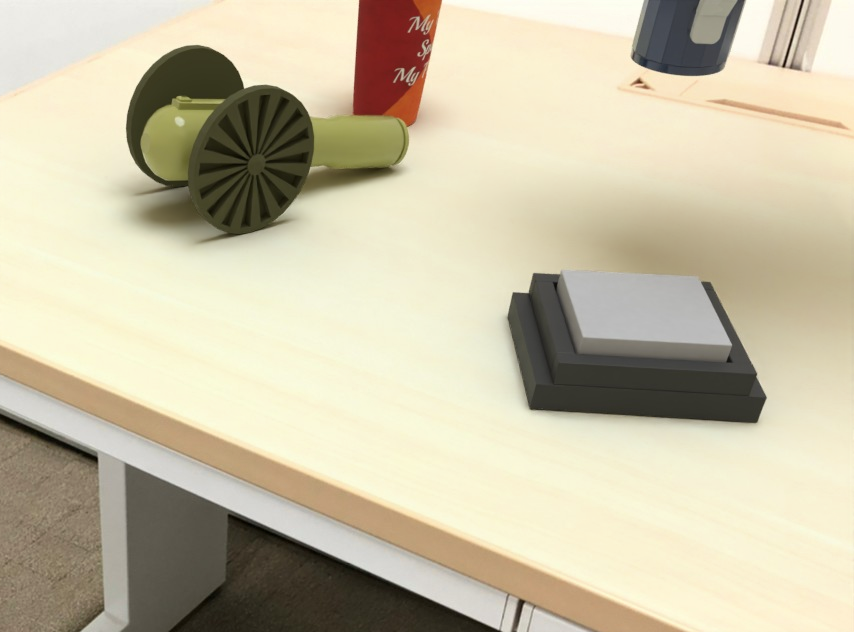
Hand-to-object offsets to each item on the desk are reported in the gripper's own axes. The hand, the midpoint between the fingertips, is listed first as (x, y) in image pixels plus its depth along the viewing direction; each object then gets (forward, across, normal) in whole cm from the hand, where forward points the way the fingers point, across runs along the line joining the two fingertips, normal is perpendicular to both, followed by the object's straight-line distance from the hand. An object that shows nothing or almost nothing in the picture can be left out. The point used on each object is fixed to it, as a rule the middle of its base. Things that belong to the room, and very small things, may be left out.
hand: (688, 21), depth 84 cm
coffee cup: (+18, +26, +17) cm, 36 cm away
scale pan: (+15, -16, +3) cm, 22 cm away
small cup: (+3, 0, 0) cm, 3 cm away
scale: (+17, -16, +3) cm, 24 cm away
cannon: (+18, +8, +27) cm, 33 cm away
